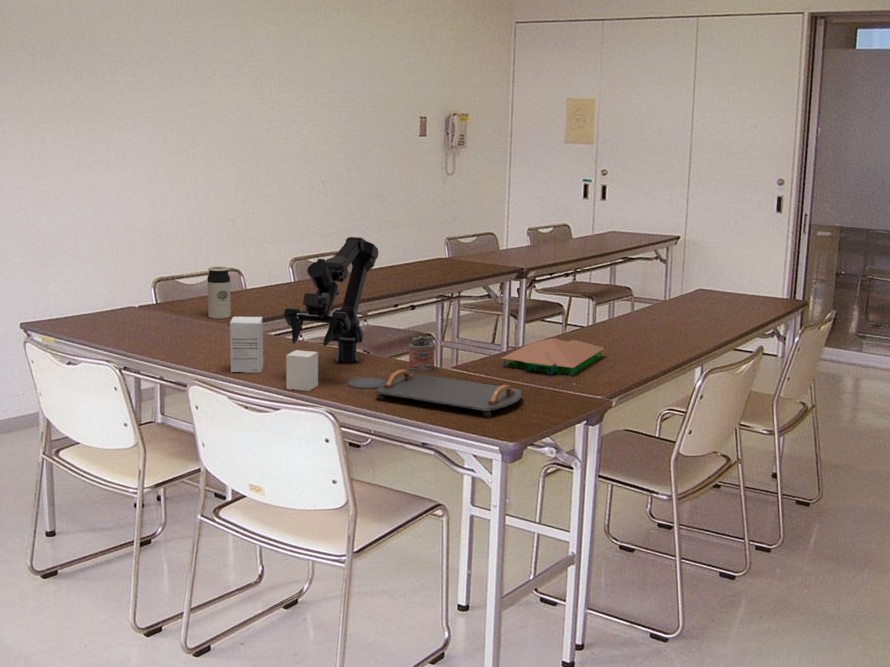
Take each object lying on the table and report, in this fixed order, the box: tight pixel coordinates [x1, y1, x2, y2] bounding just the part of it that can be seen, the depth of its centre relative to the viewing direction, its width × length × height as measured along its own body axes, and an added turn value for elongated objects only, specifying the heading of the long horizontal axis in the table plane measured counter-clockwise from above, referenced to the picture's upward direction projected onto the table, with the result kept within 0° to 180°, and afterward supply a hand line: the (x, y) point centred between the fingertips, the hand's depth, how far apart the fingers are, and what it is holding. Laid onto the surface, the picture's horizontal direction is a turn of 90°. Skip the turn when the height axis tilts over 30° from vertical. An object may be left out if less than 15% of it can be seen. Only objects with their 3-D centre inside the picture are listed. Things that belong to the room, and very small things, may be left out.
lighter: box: [407, 335, 436, 372], centre depth 313 cm, size 8×3×10 cm, turn 106°
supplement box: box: [229, 316, 264, 374], centre depth 308 cm, size 9×9×15 cm
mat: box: [346, 377, 387, 390], centre depth 296 cm, size 11×11×1 cm
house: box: [500, 337, 606, 377], centre depth 325 cm, size 23×33×8 cm
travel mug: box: [206, 266, 232, 320], centre depth 383 cm, size 8×8×18 cm
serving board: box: [375, 369, 523, 418], centre depth 282 cm, size 39×23×6 cm, turn 63°
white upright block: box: [285, 349, 319, 392], centre depth 290 cm, size 6×6×10 cm
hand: (308, 344), depth 293 cm, fingers open, 9 cm apart
